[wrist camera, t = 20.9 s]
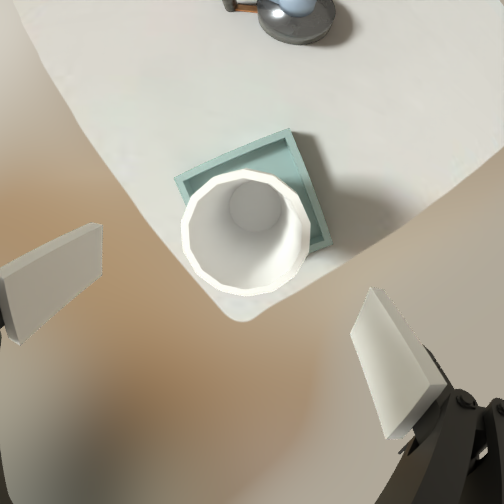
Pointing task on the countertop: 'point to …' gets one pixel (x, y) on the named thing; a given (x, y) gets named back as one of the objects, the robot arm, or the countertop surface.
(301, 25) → the crank base
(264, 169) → the tray
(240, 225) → the foam cup
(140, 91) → the countertop surface
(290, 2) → the crank
